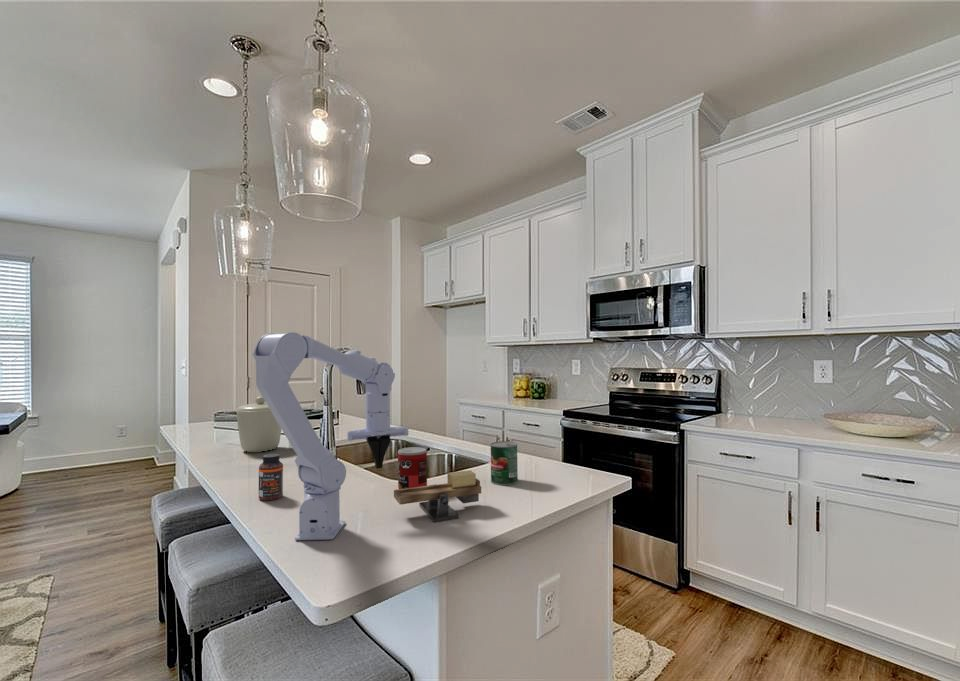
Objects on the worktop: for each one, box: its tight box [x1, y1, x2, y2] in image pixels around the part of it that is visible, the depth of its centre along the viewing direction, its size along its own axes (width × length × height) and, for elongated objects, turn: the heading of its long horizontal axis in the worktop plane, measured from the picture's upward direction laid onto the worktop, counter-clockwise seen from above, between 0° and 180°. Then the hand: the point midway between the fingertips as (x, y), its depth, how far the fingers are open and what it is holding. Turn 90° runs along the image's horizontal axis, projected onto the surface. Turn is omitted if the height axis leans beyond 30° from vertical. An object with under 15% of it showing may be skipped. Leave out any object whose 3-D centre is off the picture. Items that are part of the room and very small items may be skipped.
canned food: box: [397, 446, 428, 489], centre depth 128 cm, size 8×8×11 cm
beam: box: [393, 478, 482, 505], centre depth 110 cm, size 20×6×5 cm, turn 113°
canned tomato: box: [490, 440, 519, 486], centre depth 135 cm, size 8×8×11 cm
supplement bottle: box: [258, 453, 284, 502], centre depth 123 cm, size 6×6×11 cm
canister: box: [234, 396, 282, 453], centre depth 182 cm, size 18×18×21 cm
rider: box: [447, 470, 477, 490], centre depth 113 cm, size 6×4×4 cm, turn 113°
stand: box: [418, 484, 460, 523], centre depth 110 cm, size 6×12×5 cm, turn 23°
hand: (378, 467), depth 112 cm, fingers closed
